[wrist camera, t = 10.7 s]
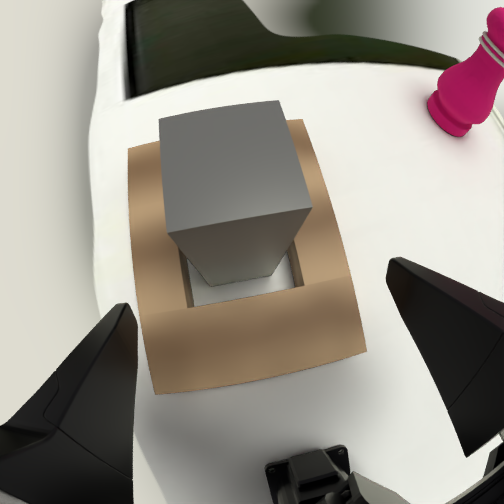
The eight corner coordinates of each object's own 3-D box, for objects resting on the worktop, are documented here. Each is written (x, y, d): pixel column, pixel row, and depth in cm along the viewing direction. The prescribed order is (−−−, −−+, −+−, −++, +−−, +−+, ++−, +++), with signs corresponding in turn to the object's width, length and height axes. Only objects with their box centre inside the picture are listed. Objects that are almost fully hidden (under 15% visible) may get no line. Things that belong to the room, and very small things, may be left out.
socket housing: (351, 348, 20) (366, 351, 17) (166, 385, 19) (155, 394, 16) (296, 139, 24) (302, 119, 21) (138, 167, 23) (127, 148, 20)
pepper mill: (444, 142, 26) (545, 27, 6) (413, 94, 27) (486, -26, 8) (476, 139, 26) (565, 47, 7) (447, 95, 28) (517, -3, 8)
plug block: (271, 275, 21) (312, 207, 9) (211, 286, 21) (166, 232, 8) (259, 218, 22) (278, 100, 10) (201, 228, 22) (158, 118, 10)
